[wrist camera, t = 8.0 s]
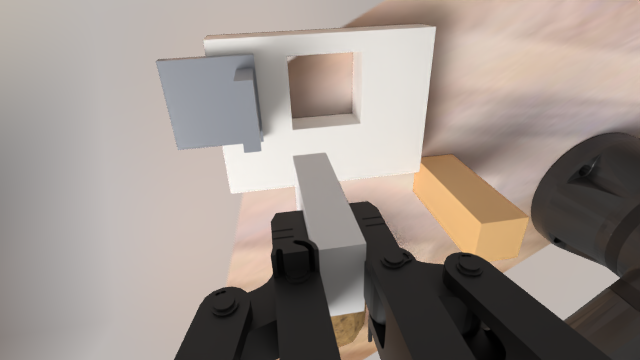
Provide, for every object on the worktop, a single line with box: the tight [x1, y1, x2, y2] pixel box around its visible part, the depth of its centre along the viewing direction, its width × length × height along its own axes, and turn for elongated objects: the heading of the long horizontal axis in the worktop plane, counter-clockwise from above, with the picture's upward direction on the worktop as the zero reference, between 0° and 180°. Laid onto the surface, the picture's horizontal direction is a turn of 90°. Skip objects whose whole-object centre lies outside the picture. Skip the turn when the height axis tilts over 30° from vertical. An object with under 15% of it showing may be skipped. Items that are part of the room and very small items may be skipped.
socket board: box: [203, 24, 436, 194], centre depth 31 cm, size 18×13×3 cm
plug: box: [413, 154, 529, 262], centre depth 33 cm, size 4×4×12 cm
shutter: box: [156, 53, 264, 153], centre depth 25 cm, size 7×7×5 cm
